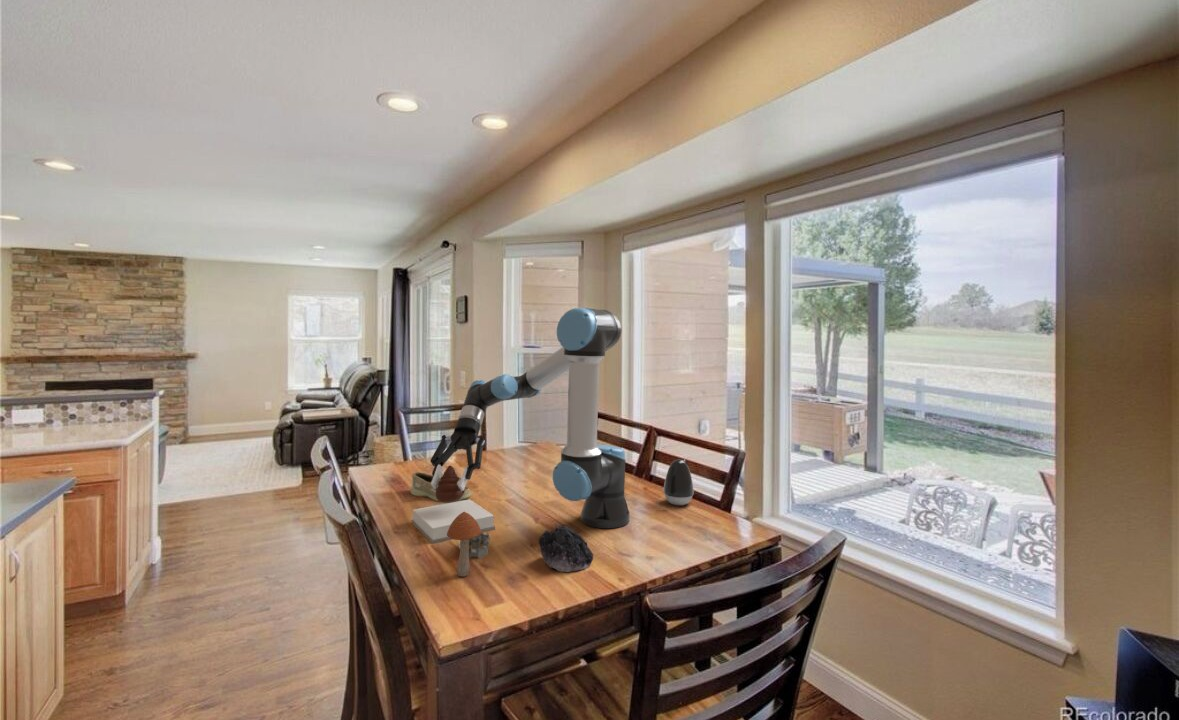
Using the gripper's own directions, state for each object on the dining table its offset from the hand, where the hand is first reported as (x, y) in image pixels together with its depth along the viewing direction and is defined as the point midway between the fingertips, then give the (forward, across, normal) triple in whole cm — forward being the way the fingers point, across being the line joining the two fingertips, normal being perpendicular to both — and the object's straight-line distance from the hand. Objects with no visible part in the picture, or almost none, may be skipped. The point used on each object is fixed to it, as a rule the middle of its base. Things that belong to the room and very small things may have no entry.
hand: (447, 487), depth 148 cm
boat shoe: (-11, +16, -30) cm, 35 cm away
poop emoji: (+1, 0, -5) cm, 5 cm away
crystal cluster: (+19, -38, +1) cm, 43 cm away
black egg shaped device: (-18, -67, -36) cm, 78 cm away
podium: (+7, 0, -11) cm, 13 cm away
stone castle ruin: (+18, -13, -1) cm, 22 cm away
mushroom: (+27, -16, +9) cm, 32 cm away
